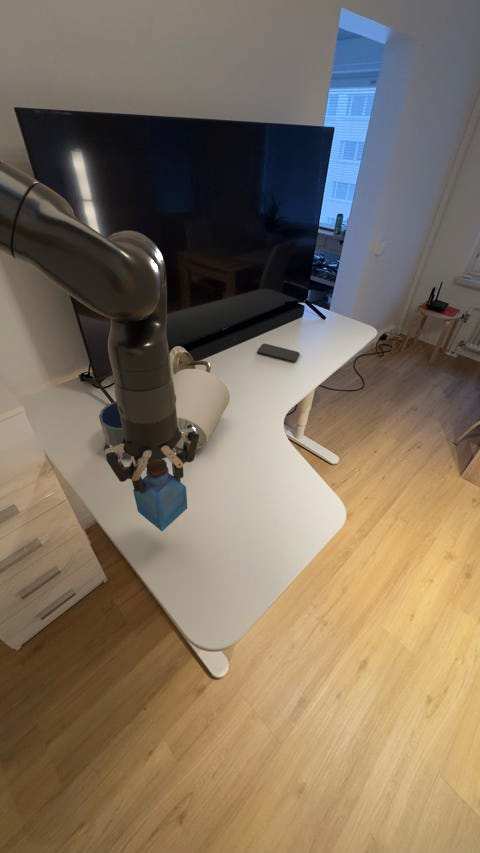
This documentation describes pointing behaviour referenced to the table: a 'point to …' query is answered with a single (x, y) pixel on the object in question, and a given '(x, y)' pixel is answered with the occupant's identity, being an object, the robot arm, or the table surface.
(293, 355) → the phone
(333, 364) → the table surface
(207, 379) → the light fixture
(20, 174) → the robot arm
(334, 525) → the table surface
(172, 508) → the perfume bottle
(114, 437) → the holder
